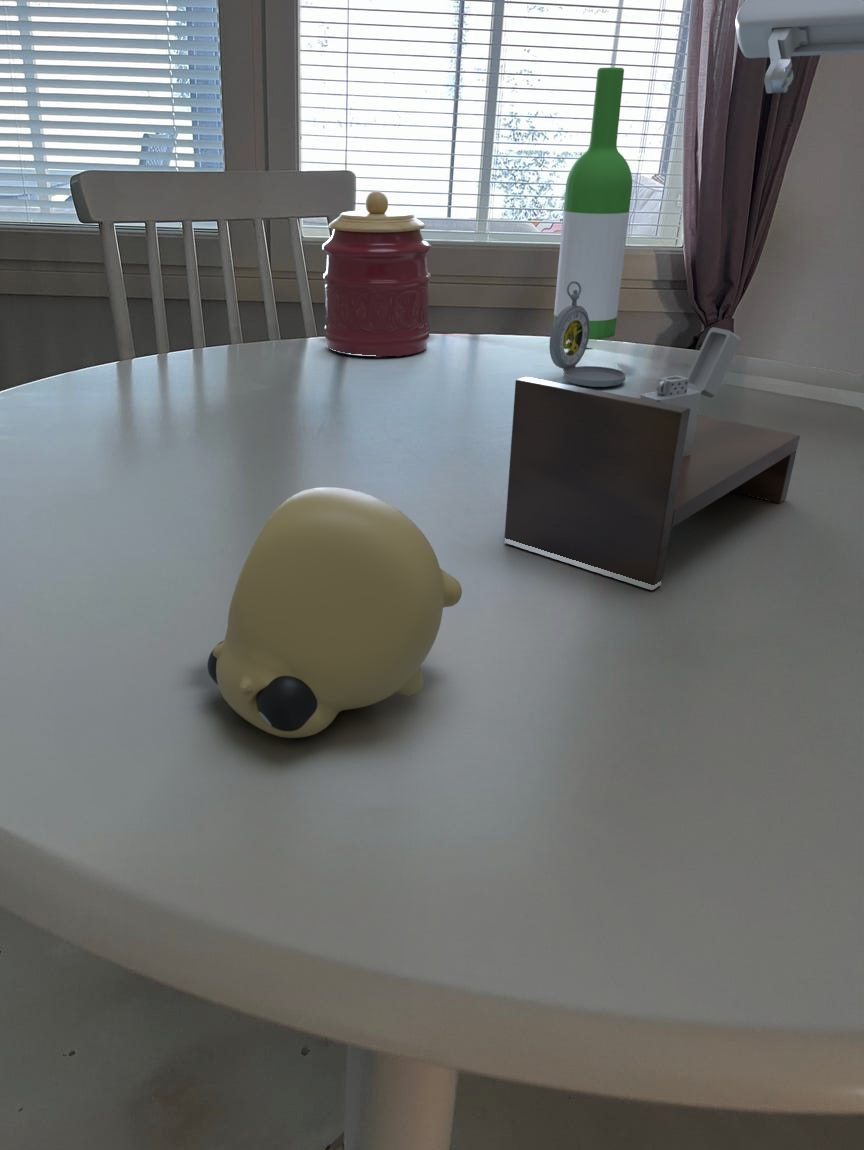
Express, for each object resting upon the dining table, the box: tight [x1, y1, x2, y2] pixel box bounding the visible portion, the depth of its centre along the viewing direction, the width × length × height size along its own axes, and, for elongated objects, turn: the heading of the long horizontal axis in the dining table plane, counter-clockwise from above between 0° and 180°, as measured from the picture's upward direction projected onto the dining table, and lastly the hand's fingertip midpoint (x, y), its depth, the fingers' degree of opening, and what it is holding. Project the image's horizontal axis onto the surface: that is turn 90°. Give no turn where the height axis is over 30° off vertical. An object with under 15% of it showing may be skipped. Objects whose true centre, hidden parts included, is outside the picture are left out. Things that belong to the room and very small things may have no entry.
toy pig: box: [207, 486, 463, 739], centre depth 44 cm, size 10×12×11 cm
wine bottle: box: [552, 67, 633, 350], centre depth 111 cm, size 8×8×30 cm
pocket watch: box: [549, 281, 627, 388], centre depth 100 cm, size 8×8×10 cm
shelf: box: [504, 376, 801, 585], centre depth 64 cm, size 11×21×11 cm, turn 138°
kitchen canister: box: [321, 190, 432, 357], centre depth 112 cm, size 13×13×18 cm
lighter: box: [639, 326, 742, 457], centre depth 62 cm, size 7×2×8 cm, turn 122°
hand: (835, 85), depth 71 cm, fingers open, 8 cm apart
